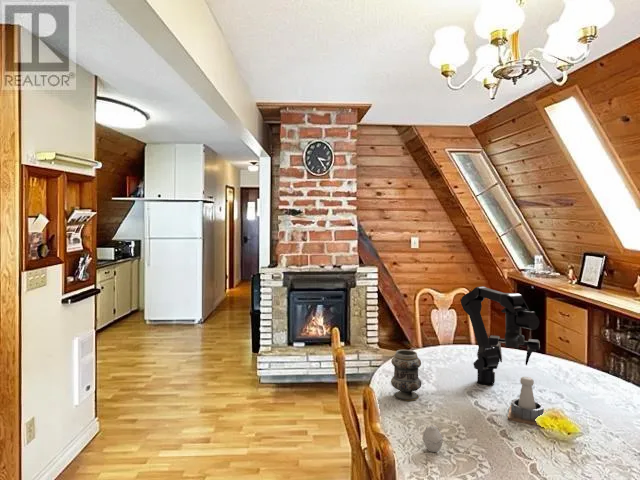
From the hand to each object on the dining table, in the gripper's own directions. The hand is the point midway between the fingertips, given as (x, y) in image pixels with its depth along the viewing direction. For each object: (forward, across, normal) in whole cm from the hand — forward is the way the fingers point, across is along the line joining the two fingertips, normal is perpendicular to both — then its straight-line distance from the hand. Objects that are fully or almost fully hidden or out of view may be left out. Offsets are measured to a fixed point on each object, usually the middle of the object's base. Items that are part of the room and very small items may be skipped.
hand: (513, 363), depth 173 cm
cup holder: (+13, +6, -19) cm, 24 cm away
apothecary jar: (+13, -38, -21) cm, 45 cm away
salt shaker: (+12, +6, -18) cm, 23 cm away
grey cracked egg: (+14, -18, -58) cm, 62 cm away
